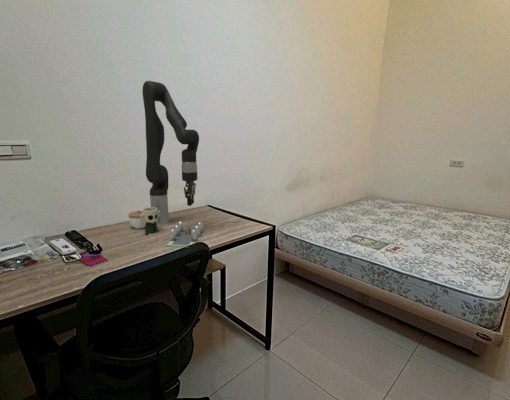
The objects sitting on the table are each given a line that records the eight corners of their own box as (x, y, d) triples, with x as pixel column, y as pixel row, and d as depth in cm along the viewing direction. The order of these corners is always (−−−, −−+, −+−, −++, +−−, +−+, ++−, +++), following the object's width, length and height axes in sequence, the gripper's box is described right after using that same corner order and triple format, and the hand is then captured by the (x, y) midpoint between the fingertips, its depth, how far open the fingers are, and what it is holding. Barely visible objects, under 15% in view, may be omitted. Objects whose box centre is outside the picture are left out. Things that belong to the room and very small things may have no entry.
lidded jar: (127, 226, 161) (125, 209, 159) (147, 223, 168) (145, 207, 165) (132, 231, 153) (131, 214, 151) (153, 227, 159) (152, 211, 157)
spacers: (169, 241, 138) (169, 229, 137) (179, 230, 152) (178, 220, 151) (196, 241, 138) (195, 230, 136) (203, 231, 152) (203, 221, 151)
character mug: (145, 237, 145) (143, 212, 142) (138, 234, 149) (136, 209, 146) (164, 232, 153) (163, 208, 150) (157, 229, 157) (156, 205, 154)
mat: (165, 248, 132) (165, 245, 132) (181, 230, 155) (181, 228, 155) (192, 249, 131) (191, 246, 131) (203, 231, 155) (203, 228, 154)
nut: (185, 235, 146) (184, 229, 145) (185, 232, 150) (185, 226, 149) (193, 235, 147) (193, 229, 146) (193, 232, 151) (193, 226, 150)
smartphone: (88, 266, 113) (71, 255, 122) (88, 268, 113) (71, 257, 122) (108, 259, 119) (90, 249, 128) (108, 261, 119) (90, 251, 128)
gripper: (186, 168, 153) (187, 201, 157) (177, 172, 139) (179, 207, 143) (200, 169, 152) (201, 201, 156) (193, 173, 139) (194, 208, 143)
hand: (190, 204), depth 150 cm, fingers open, 3 cm apart
